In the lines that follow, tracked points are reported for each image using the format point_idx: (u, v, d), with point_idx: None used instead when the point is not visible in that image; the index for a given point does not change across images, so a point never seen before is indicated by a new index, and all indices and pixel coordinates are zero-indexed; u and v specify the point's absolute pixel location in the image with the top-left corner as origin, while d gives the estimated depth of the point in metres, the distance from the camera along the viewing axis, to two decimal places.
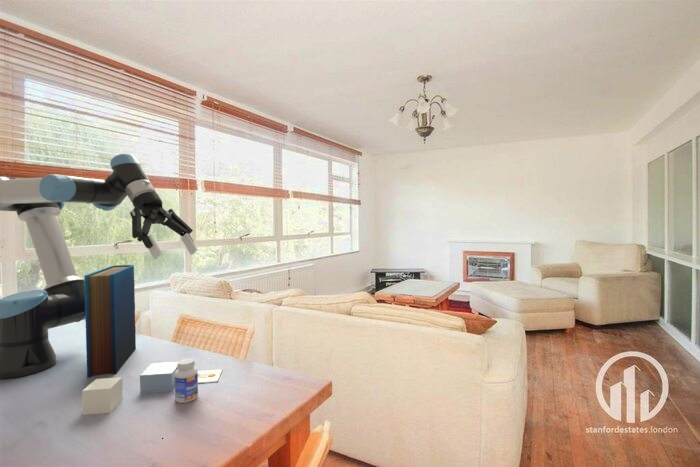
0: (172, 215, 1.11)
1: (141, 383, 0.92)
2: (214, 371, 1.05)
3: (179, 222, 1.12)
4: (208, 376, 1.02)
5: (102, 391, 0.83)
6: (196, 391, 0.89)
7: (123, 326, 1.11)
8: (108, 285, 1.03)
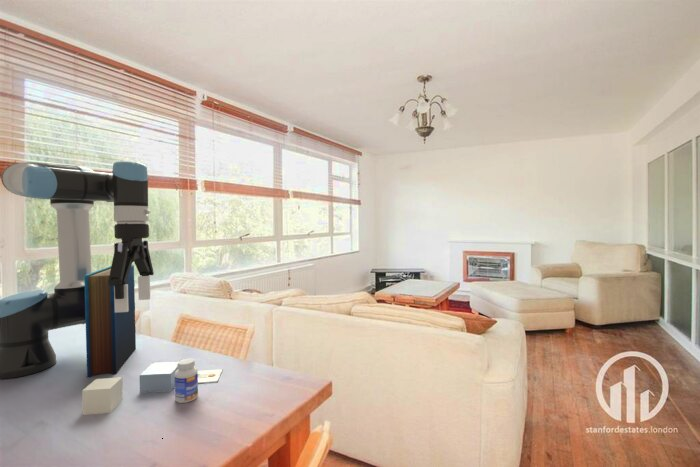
0: (144, 249, 0.95)
1: (141, 383, 0.92)
2: (214, 371, 1.05)
3: (146, 258, 0.96)
4: (208, 376, 1.02)
5: (102, 391, 0.82)
6: (196, 391, 0.89)
7: (123, 326, 1.11)
8: (108, 285, 1.03)
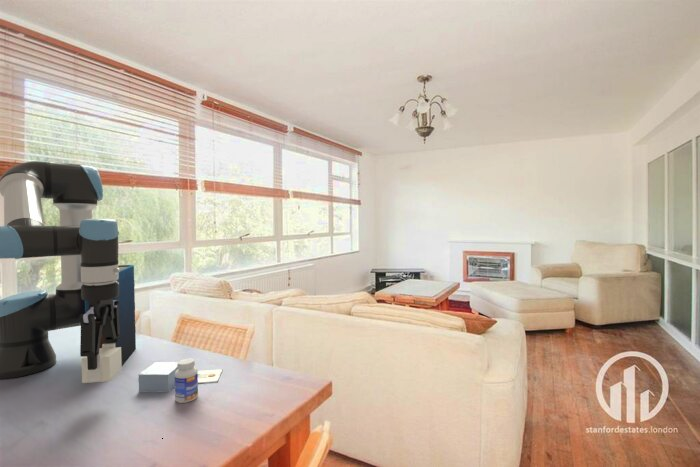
0: (114, 309, 0.90)
1: (139, 382, 0.93)
2: (214, 371, 1.05)
3: (114, 320, 0.90)
4: (208, 376, 1.02)
5: (102, 359, 0.83)
6: (196, 391, 0.89)
7: (123, 326, 1.11)
8: None
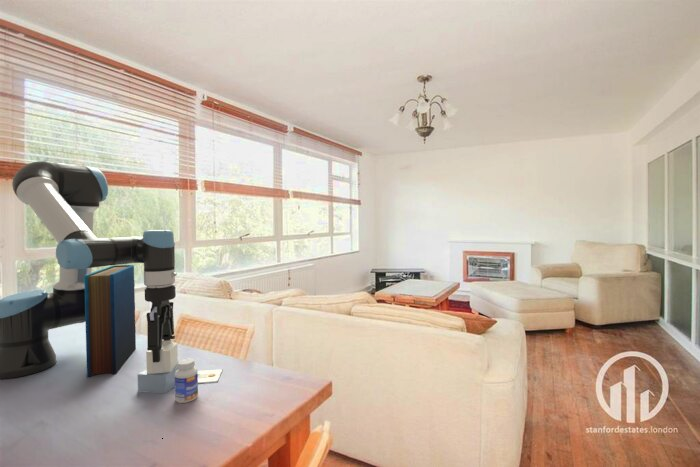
0: (170, 310, 1.01)
1: (139, 382, 0.93)
2: (214, 371, 1.05)
3: (170, 320, 1.01)
4: (208, 376, 1.02)
5: (163, 352, 0.94)
6: (196, 391, 0.89)
7: (123, 326, 1.11)
8: (108, 285, 1.03)
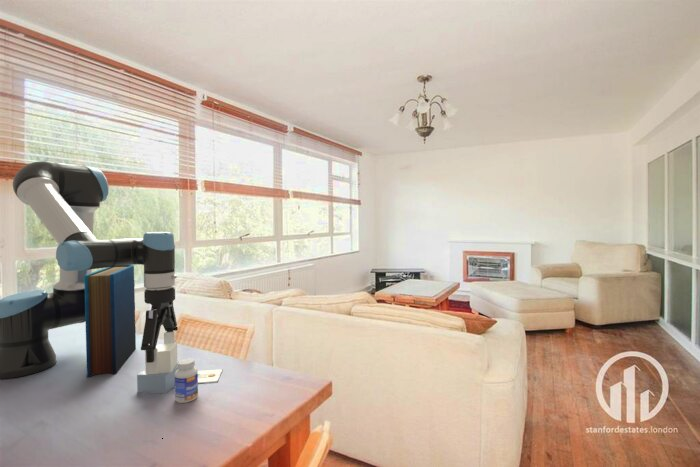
0: (170, 307, 1.02)
1: (138, 382, 0.93)
2: (214, 371, 1.05)
3: (171, 315, 1.04)
4: (208, 376, 1.02)
5: (164, 353, 0.94)
6: (196, 391, 0.89)
7: (123, 326, 1.11)
8: (108, 285, 1.03)
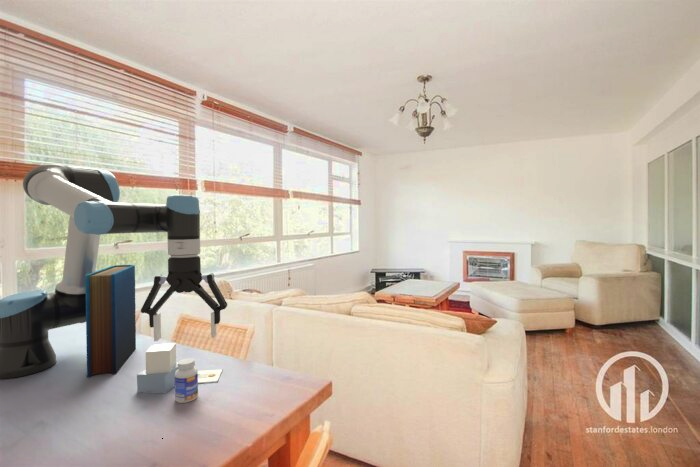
0: None
1: (138, 382, 0.93)
2: (214, 371, 1.05)
3: None
4: (208, 376, 1.02)
5: (163, 353, 0.94)
6: (196, 391, 0.89)
7: (123, 326, 1.11)
8: (109, 285, 1.03)
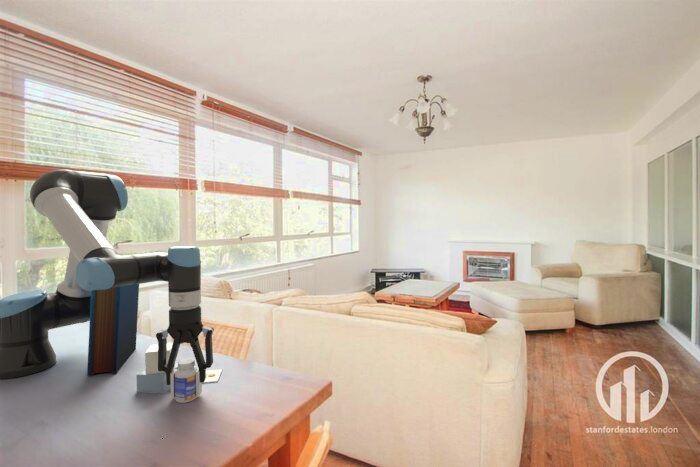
0: None
1: (137, 382, 0.93)
2: (214, 371, 1.05)
3: None
4: (208, 376, 1.02)
5: None
6: None
7: (126, 326, 1.11)
8: None
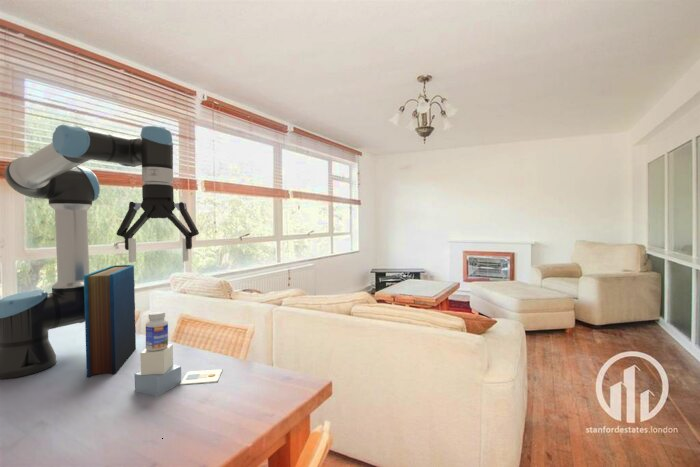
0: None
1: (135, 382, 0.93)
2: (214, 371, 1.05)
3: None
4: (208, 376, 1.02)
5: (157, 354, 0.93)
6: (164, 342, 0.95)
7: (123, 326, 1.11)
8: (108, 285, 1.03)
